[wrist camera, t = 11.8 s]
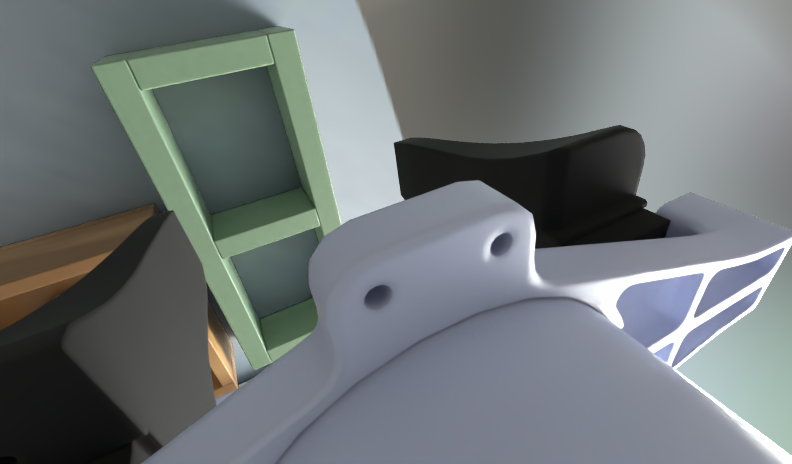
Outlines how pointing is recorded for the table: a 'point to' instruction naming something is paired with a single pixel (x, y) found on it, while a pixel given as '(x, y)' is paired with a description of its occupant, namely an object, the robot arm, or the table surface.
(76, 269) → the open wooden box
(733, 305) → the robot arm
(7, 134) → the table surface
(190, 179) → the green divided tray
